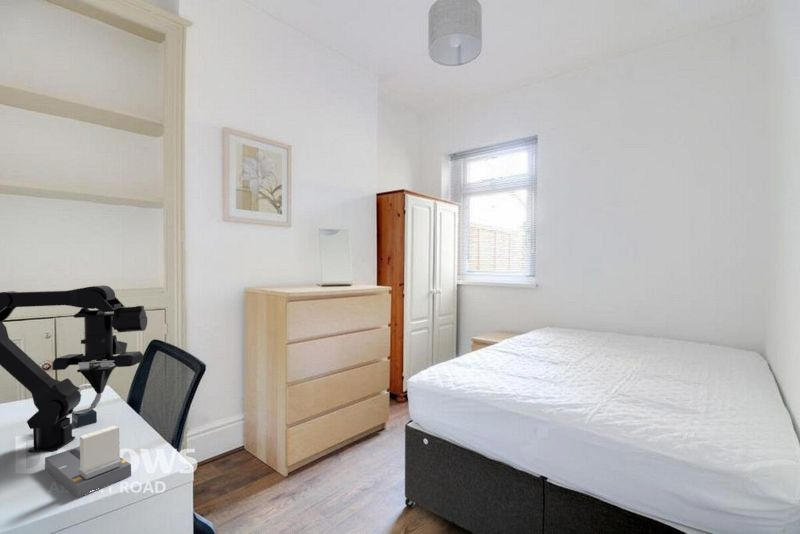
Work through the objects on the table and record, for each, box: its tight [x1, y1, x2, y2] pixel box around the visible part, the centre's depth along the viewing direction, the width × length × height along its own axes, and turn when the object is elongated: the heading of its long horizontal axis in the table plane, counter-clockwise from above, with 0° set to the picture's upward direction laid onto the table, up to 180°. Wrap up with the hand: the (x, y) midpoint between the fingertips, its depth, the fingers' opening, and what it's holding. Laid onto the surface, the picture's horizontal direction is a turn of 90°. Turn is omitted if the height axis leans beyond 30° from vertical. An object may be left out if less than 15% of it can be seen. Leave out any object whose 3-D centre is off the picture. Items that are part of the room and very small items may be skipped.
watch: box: [71, 383, 103, 429], centre depth 107 cm, size 6×8×11 cm
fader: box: [79, 425, 122, 479], centre depth 77 cm, size 4×6×8 cm, turn 147°
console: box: [44, 445, 132, 499], centre depth 81 cm, size 20×9×3 cm, turn 57°
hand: (100, 393), depth 97 cm, fingers closed
